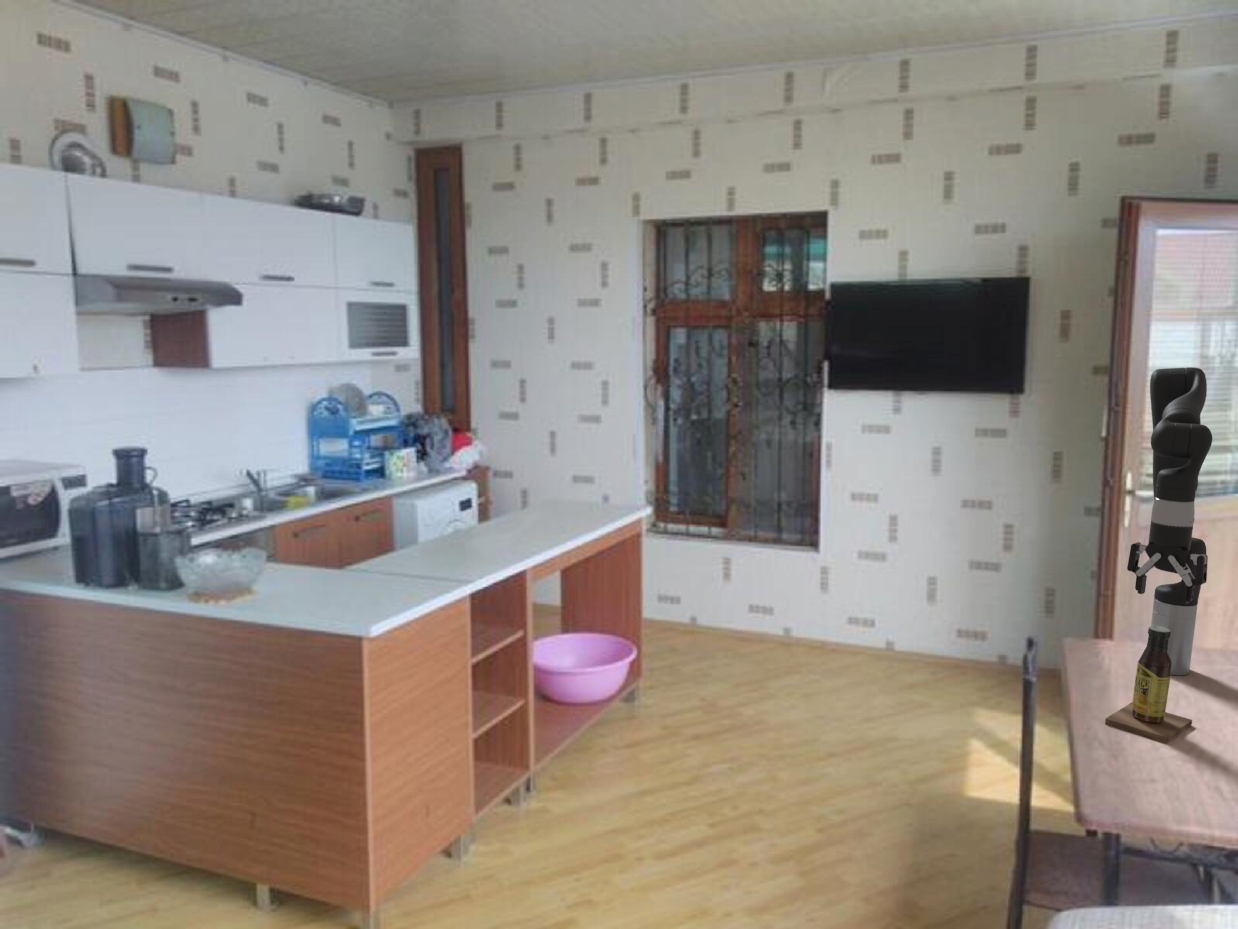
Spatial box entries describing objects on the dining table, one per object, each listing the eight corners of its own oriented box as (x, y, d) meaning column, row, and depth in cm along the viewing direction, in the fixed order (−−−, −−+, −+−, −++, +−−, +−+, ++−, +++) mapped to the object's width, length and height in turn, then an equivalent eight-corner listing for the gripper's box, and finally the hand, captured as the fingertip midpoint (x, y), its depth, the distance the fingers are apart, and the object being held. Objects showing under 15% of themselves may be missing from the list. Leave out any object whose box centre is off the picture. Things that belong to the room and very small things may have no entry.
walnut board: (1131, 707, 214) (1132, 702, 214) (1191, 725, 206) (1192, 720, 205) (1105, 724, 205) (1105, 718, 205) (1166, 743, 196) (1167, 737, 196)
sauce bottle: (1125, 711, 209) (1135, 621, 206) (1156, 713, 208) (1167, 623, 205) (1138, 724, 203) (1149, 631, 200) (1170, 726, 202) (1181, 633, 199)
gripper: (1127, 517, 201) (1119, 593, 204) (1204, 529, 191) (1194, 609, 193) (1141, 512, 206) (1133, 587, 209) (1217, 524, 196) (1207, 603, 198)
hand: (1163, 598), depth 201 cm, fingers open, 8 cm apart
